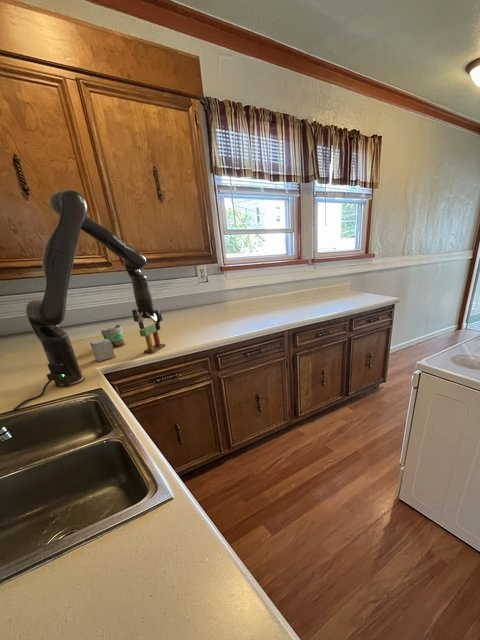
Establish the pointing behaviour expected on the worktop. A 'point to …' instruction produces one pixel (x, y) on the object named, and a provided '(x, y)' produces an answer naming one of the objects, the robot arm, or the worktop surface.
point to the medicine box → (102, 350)
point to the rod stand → (150, 346)
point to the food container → (114, 336)
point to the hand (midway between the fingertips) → (150, 329)
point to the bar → (148, 330)
